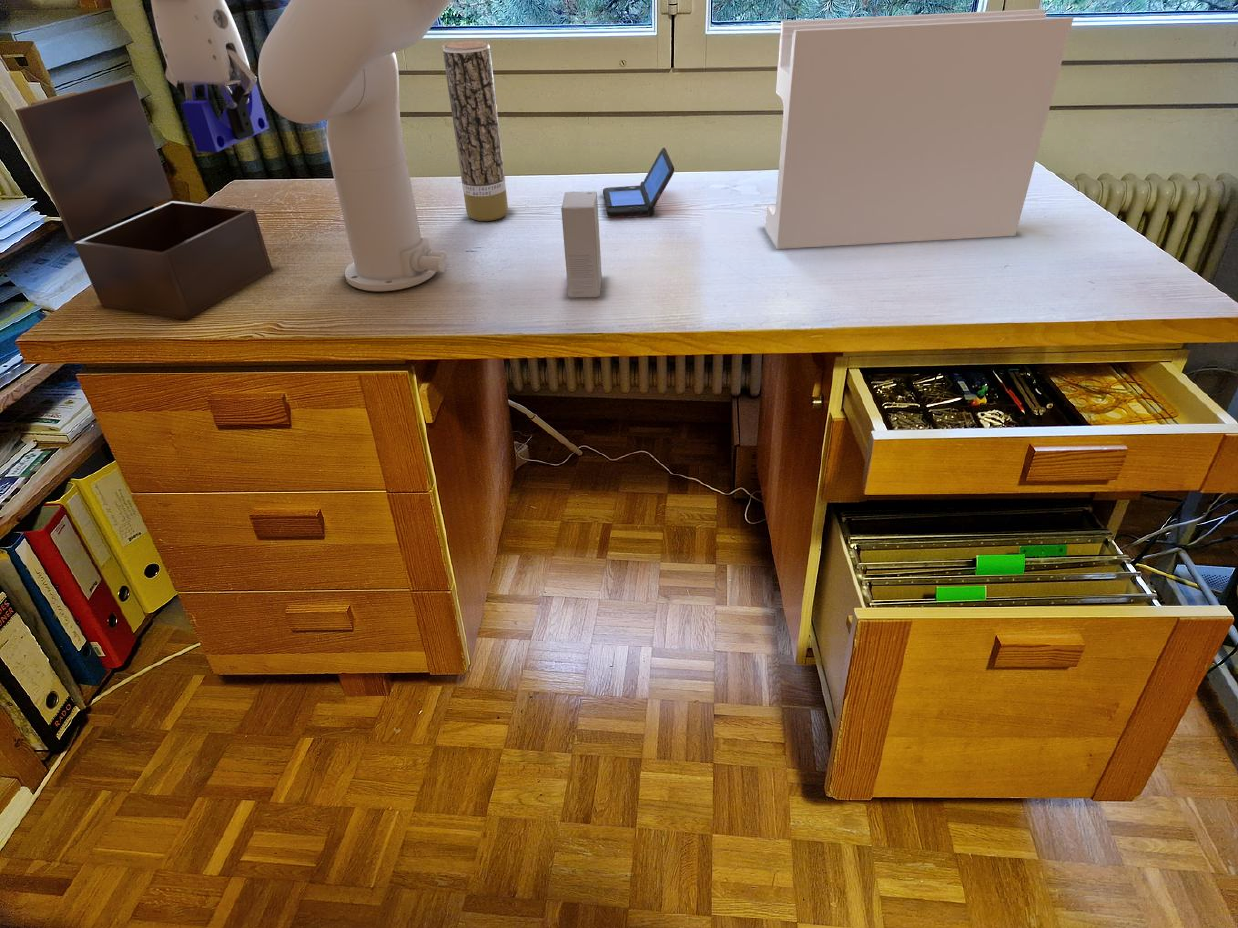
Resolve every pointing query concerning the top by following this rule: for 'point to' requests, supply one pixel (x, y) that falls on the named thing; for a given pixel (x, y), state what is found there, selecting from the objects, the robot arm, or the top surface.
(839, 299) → the top surface
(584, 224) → the cosmetic box
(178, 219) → the keepsake box
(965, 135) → the block
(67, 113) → the lid
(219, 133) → the blue notched block
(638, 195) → the handheld game console
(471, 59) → the paper tube
